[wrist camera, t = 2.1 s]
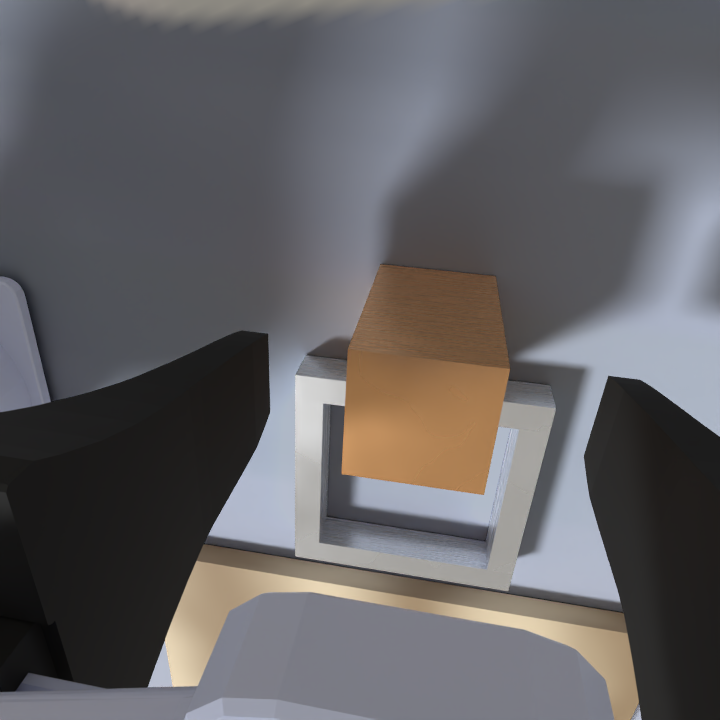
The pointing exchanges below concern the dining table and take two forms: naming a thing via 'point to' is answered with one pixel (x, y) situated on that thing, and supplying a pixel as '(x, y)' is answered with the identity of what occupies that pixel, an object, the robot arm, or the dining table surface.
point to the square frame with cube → (421, 426)
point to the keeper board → (279, 574)
